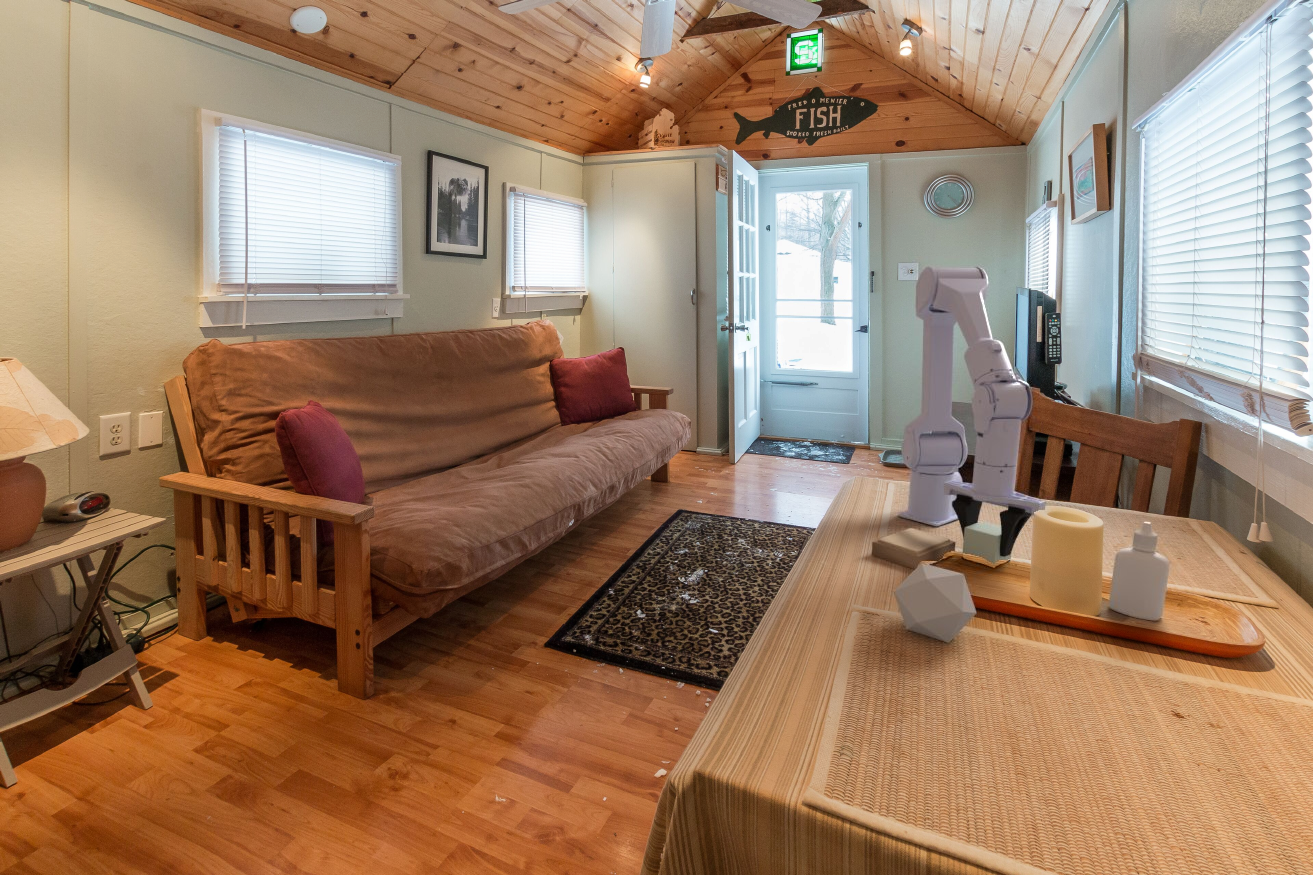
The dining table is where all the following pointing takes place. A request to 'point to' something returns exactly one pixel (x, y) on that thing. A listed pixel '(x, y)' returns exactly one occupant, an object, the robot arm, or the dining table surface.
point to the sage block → (983, 541)
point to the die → (935, 602)
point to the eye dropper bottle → (1140, 578)
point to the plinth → (912, 547)
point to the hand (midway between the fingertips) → (987, 549)
